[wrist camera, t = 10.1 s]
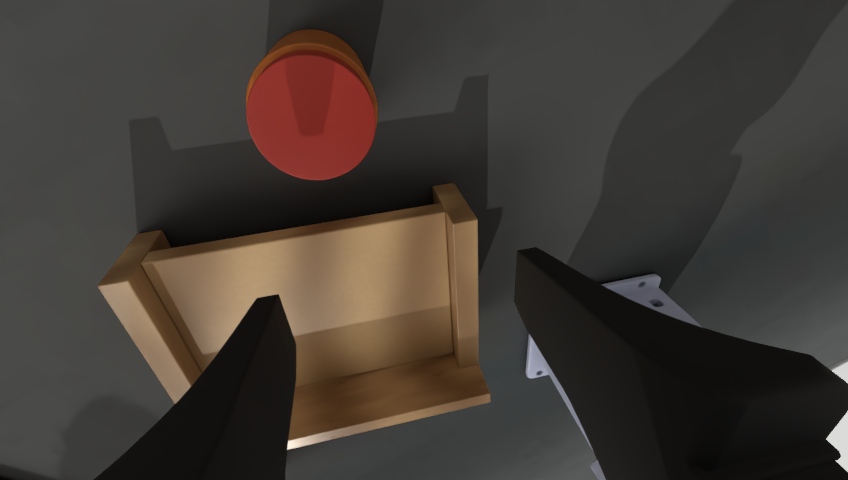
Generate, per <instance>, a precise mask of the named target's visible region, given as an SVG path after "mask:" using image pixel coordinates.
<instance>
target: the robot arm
mask: <svg viewBox="0 0 848 480" xmlns="http://www.w3.org/2000/svg"><path fill="white" fill-rule="evenodd" d="M660 281H661V278H660V277H659V276H658V275H657V274H649V275H644V276H640V277H635V278H630V279H625V280H620V281H615V282H610V283H605V284H599V283H597V282H595V281H593V280H592V279H590V278H588V277H586V276H585V275H583V274H581V273H579V272H578V271H576V270H574V269H572V268H571V267H569V266H567V265H566V264H564V263H562V262H561V261H559V260H557V259H556V258H554V257H552V256H551V255H549V254H547V253H545V252H544V251H542V250H540V249H538V248H536V247H534V248H529V249H524V250H518V251H517V263H516V280H515V297H514V302H515V304H516V307H517V309H518V311H519V314H520V316H521V318H522V320H523V323H524V325H525V327H526V329H527V331H528V332H529V338H528V349H527V361H526V375H527V377H528V378H536V377H541V376H545V375H550V377H551V379H552V381H553V382H554V384H555V386H556V388H557V389H558V391H559V393H560V395H561V396H562V398H563V400H564V401H565V403H566V405H567V407H568V408H569V410H570V412H571V414H572V415H573V417H574V419H575V421H576V422H577V424H578V426H579V427H580V429H581V431H582V433H583V434H584V436H585V438H586V440H587V441H588V443H589V445H590V447H591V448H592V450H593V452H594V454H595V456H596V458H597V460H596V461H594V462H593V463H592V464H591V465H590V466H591V468H592V470H593V472H594V474H595V475H596V477H597V479H598V480H848V472H847V471H845V470H844V469H843V468H842V467H841V466H840V465H839V464H838V463H837V462H836V461H835V460H838V459H839V458H840V457H841V455H840V453H839V451H838V450H837V449H836V448H835V447H834V446H832V445H831V444H830V443H829V442H828V441H827V440H826V438H827V437H828V435H829V434H830V433H831V431H832V430H833V429H834V428H835V426H836V425H837V424H838V423H839V421H840V420H841V419H842V417H843V416H844V415H845V414H846V412H847V411H848V384H847V383H846V382H845V381H844V380H843V379H841V378H840V377H839V376H837V375H836V374H835V373H833V372H832V371H831V370H830V369H828V368H827V367H826V366H824V365H823V364H822V363H820V362H819V361H818V360H816V359H815V358H814V357H813V356H811V355H808V354H804V353H799V352H795V351H790V350H786V349H781V348H777V347H772V346H768V345H763V344H759V343H755V342H751V341H747V340H743V339H740V338H736V337H733V336H729V335H725V334H722V333H719V332H715V331H712V330H709V329H705V328H703V327H702V326H701V325H699V324H698V323H697V322H696V321H695V320H694V319H693V318H692V317H691V316H690V315H688V314H687V313H686V312H685V311H684V310H683V309H682V308H681V307H680V306H678V305H677V304H676V303H675V302H674V301H673V300H672V299H671V298H670V297H669V296H667V295H666V294H665V293H664V292H663V291H662V290H661V289H660V288H658V287H659V284H660ZM295 384H296V342H295V339H294V336H293V334H292V331H291V328H290V325H289V322H288V319H287V316H286V313H285V311H284V308H283V305H282V302H281V299H280V296H279V294H276V295H271V296H265V297H260V298H257V299H256V300H255V301H254V303H253V304H252V305H251V307H250V308H249V310H248V311H247V313H246V314H245V316H244V317H243V318H242V320H241V321H240V323H239V324H238V326H237V327H236V329H235V330H234V331H233V333H232V334H231V336H230V337H229V338H228V340H227V341H226V343H225V344H224V345H223V347H222V348H221V349H220V351H219V352H218V354H217V355H216V356H215V358H214V359H213V360H212V361H211V363H210V364H209V365H208V366H207V368H206V369H205V370H204V371H203V373H202V374H201V375H200V376H199V378H198V379H197V380H196V381H195V383H194V384H193V385H192V386H191V387H190V388H189V390H188V391H187V392H186V393H185V394H184V395H183V396H182V397H181V398H180V400H179V401H178V402H177V403H176V404H175V405H174V406H173V407H172V408H171V409H170V410H169V411H168V412H167V413H166V414H165V415H164V416H163V417H162V418H161V419H160V420H159V421H158V422H157V423H156V424H155V425H154V426H153V427H152V428H151V429H150V430H149V431H148V432H147V433H146V434H145V435H144V436H142V437H141V438H140V439H139V440H138V441H137V442H136V443H135V444H134V445H133V446H132V447H131V448H130V449H129V450H128V451H127V452H125V453H124V454H123V455H122V456H121V457H120V458H119V459H118V460H116V461H115V462H114V463H113V464H112V465H111V466H109V467H108V468H107V469H106V470H105V471H104V472H102V473H101V474H100V475H99V476H98V477H96V478H95V479H94V480H285V467H286V456H287V446H288V439H289V431H290V423H291V416H292V408H293V400H294V392H295Z"/></svg>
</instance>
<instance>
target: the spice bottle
mask: <svg viewBox="0 0 848 480" xmlns="http://www.w3.org/2000/svg"><path fill="white" fill-rule="evenodd" d="M246 110H247V112H246V115H247V123H248V127H249V131H250V134H251V136H252V139H253V141H254V143H255V145H256V146H257V148H258V149H259V151H260V152H261V153H262V155H263V156H264V157H265V158H266V159H267V160H268V161H269V162H270V163H272V164H273V165H274V166H275V167H277V168H278V169H280V170H282V171H283V172H285V173H287V174H290V175H292V176H295V177H298V178H302V179H308V180H326V179H331V178H335V177H338V176H341V175H343V174H345V173H347V172H349V171H350V170H352V169H353V168H354V167H356V166H357V165H358V164H359V163H360V162H361V161H362V160H363V159H364V157H365V156H366V154H367V153H368V151H369V149H370V147H371V145H372V143H373V140H374V136H375V131H376V126H377V121H378V104H377V99H376V95H375V92H374V89H373V86H372V84H371V82H370V80H369V78H368V76H367V74H366V72H365V69H364V67H363V65H362V63H361V61H360V59H359V58H358V56H357V54H356V53H355V52H354V50H353V49H352V48H351V47H350V46H349V45H348V44H347V43H346V42H344V41H343V40H342V39H340V38H339V37H337V36H335V35H333V34H331V33H328V32H326V31H322V30H315V29H304V30H299V31H295V32H293V33H290V34H288V35H286V36H285V37H283V38H282V39H281V40H279V41H278V42H277V43H276V44H275V45H274V47H273V48H272V49H271V50H270V51H269V52H268V54H267V55H266V56H265V57H264V58H263V60H262V61H261V62H260V63H259V65H258V66H257V67H256V69H255V70H254V72H253V74H252V76H251V78H250V81H249V84H248V87H247V93H246Z"/></svg>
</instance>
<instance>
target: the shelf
mask: <svg viewBox="0 0 848 480" xmlns="http://www.w3.org/2000/svg"><path fill="white" fill-rule="evenodd" d="M433 201H434V204H432V205H426V206H420V207H414V208H408V209H402V210H396V211H390V212H384V213H378V214H372V215H367V216H361V217H355V218H349V219H343V220H337V221H331V222H325V223H319V224H313V225H307V226H301V227H295V228H289V229H283V230H277V231H271V232H265V233H259V234H253V235H247V236H241V237H235V238H229V239H223V240H217V241H211V242H205V243H199V244H193V245H187V246H181V247H175V248H171V247H170V245H169V243H168V241H167V239H166V237H165V235H164V233H163V231H162V230H157V231H151V232H145V233H139V234H136V236H135V237H134V238H133V240H132V241H131V242H130V244H129V245H128V246H127V248H126V249H125V250H124V251H123V253H122V254H121V255H120V257H119V258H118V259H117V261H116V262H115V263H114V265H113V266H112V267H111V269H110V270H109V271H108V273H107V274H106V275H105V277H104V278H103V279H102V280H101V282H100V283H99V284H98V288H99V290H100V291H101V293H102V294H103V296H104V297H105V299H106V300H107V302H108V303H109V305H110V306H111V308H112V309H113V311H114V312H115V314H116V315H117V317H118V318H119V320H120V321H121V323H122V324H123V326H124V327H125V329H126V330H127V332H128V333H129V335H130V336H131V338H132V340H133V341H134V343H135V344H136V346H137V347H138V349H139V350H140V352H141V353H142V355H143V356H144V358H145V359H146V361H147V362H148V364H149V365H150V367H151V368H152V370H153V371H154V373H155V374H156V376H157V377H158V379H159V380H160V382H161V383H162V385H163V386H164V388H165V389H166V391H167V392H168V394H169V395H170V397H171V398H172V400H173V402H174V403H175V404H176V403H177V402H178V401H179V400H180V398H181V397H182V396H183V395H184V394H185V393H186V392H187V391H188V390H189V388H190V387H191V386H192V385H193V384H194V383H195V381H196V380H197V379H198V378H199V376H200V375H201V374H202V373H203V371H204V370H205V369H206V368H207V366H208V365H209V364H210V363H211V361H212V360H213V359H214V358H215V356H216V355H217V354H218V352H219V351H220V349H221V348H222V347H223V345H224V344H225V343H226V341H227V340H228V338H229V337H230V336H231V334H232V333H233V331H234V330H235V329H236V327H237V326H238V324H239V323H240V321H241V320H242V318H243V317H244V316H245V314H246V313H247V311H248V310H249V308H250V307H251V305H252V304H253V303H254V301H255V300H256V299H257V298H260V297H265V296H271V295H276V294H279V296H280V299H281V302H282V305H283V308H284V311H285V313H286V316H287V319H288V322H289V325H290V328H291V331H292V334H293V336H294V339H295V342H296V384H295V392H294V400H293V408H292V416H291V423H290V431H289V439H288V446H287V450H289V449H293V448H298V447H302V446H306V445H310V444H315V443H319V442H323V441H327V440H332V439H336V438H340V437H344V436H349V435H353V434H357V433H361V432H366V431H370V430H374V429H378V428H383V427H387V426H391V425H395V424H399V423H404V422H408V421H412V420H416V419H421V418H425V417H429V416H433V415H438V414H442V413H446V412H450V411H455V410H459V409H463V408H467V407H472V406H476V405H480V404H484V403H489V402H490V391H489V388H488V386H487V384H486V381H485V379H484V376H483V374H482V371H481V369H480V366H479V314H478V219H477V218H476V216H475V215H474V213H473V212H472V210H471V209H470V207H469V205H468V204H467V202H466V201H465V199H464V198H463V196H462V195H461V193H460V192H459V190H458V189H457V187H456V186H455V184H454V183H449V184H442V185H436V186H433Z"/></svg>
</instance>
